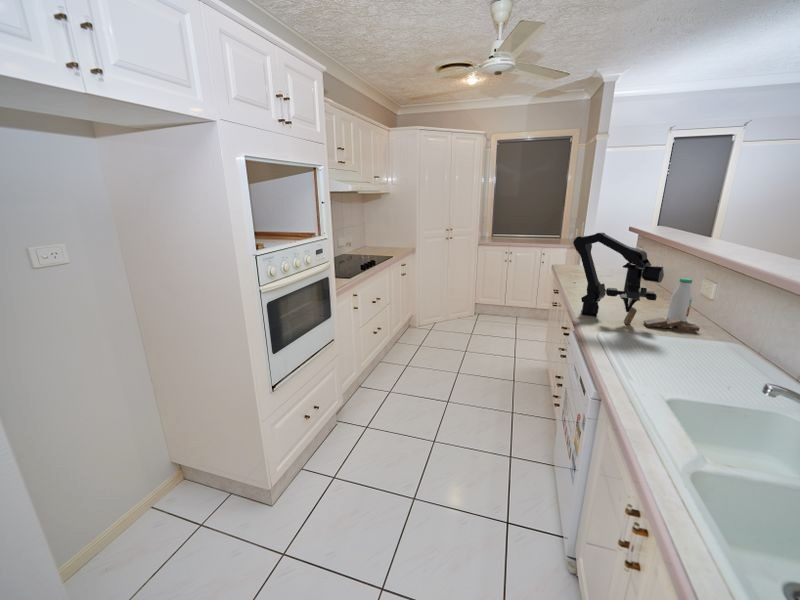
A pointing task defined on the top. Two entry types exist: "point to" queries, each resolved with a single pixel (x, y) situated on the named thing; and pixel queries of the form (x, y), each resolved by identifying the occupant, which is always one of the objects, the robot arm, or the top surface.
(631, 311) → the domino
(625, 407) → the top surface
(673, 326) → the domino
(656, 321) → the domino
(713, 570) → the top surface
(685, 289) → the milk bottle
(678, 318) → the domino
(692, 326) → the domino
